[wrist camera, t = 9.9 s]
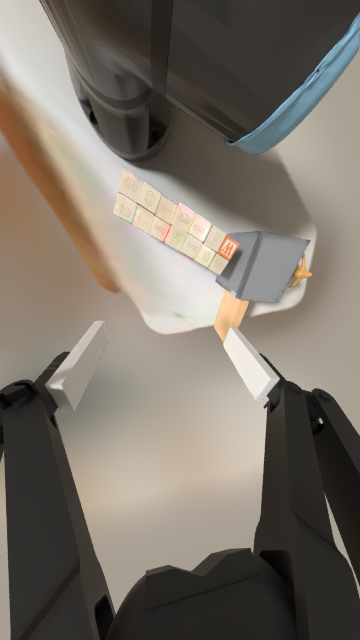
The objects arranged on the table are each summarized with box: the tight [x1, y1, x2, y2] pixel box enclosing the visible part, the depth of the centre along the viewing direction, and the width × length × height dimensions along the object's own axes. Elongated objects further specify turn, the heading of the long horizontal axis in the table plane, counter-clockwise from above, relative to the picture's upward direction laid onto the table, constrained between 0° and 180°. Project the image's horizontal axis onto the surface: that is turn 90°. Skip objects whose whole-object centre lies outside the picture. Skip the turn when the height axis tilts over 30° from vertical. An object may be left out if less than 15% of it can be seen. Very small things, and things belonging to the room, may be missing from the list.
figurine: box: [289, 254, 312, 288], centre depth 34 cm, size 8×6×12 cm
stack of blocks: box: [114, 168, 239, 275], centre depth 27 cm, size 21×6×12 cm, turn 62°
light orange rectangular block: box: [214, 290, 250, 342], centre depth 41 cm, size 14×2×9 cm, turn 172°
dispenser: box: [216, 231, 311, 302], centre depth 32 cm, size 12×10×13 cm
